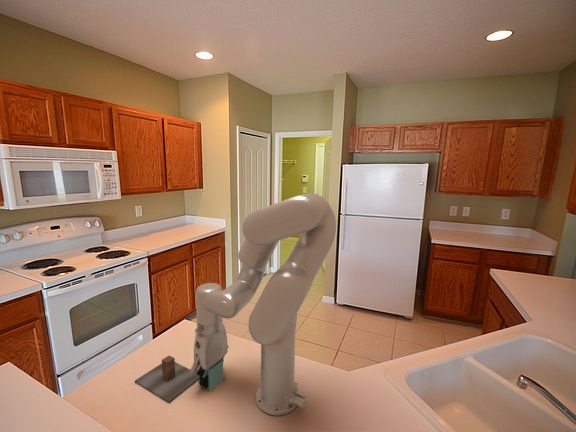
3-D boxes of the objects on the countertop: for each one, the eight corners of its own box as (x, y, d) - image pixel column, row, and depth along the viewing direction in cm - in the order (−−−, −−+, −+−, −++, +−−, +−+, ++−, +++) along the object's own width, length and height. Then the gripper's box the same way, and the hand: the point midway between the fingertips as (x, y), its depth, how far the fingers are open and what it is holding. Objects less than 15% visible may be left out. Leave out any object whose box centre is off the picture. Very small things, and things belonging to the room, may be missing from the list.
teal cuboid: (223, 379, 85) (223, 360, 84) (211, 390, 81) (210, 370, 80) (211, 373, 88) (210, 354, 87) (198, 384, 83) (198, 364, 82)
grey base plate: (202, 377, 86) (201, 356, 85) (169, 403, 76) (168, 380, 75) (168, 360, 94) (168, 341, 93) (134, 382, 84) (133, 361, 83)
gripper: (196, 343, 73) (198, 404, 75) (238, 316, 87) (238, 368, 90) (177, 335, 76) (179, 394, 79) (220, 310, 91) (221, 360, 93)
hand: (211, 379), depth 84 cm, fingers closed on teal cuboid, 5 cm apart
